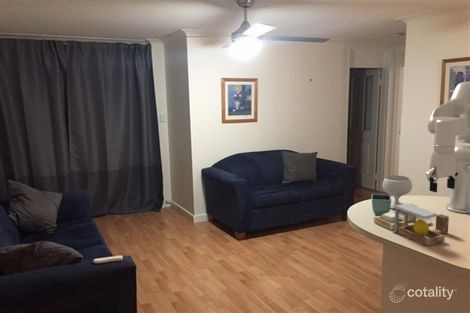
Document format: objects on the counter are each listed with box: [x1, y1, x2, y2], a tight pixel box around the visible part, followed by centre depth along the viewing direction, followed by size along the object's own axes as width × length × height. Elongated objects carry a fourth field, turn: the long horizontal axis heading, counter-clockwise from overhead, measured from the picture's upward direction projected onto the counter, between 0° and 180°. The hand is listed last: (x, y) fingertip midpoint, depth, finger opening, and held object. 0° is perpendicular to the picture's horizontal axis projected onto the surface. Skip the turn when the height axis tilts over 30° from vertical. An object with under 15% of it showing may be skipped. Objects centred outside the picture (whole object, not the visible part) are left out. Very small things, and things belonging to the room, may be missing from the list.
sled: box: [373, 203, 418, 231], centre depth 173 cm, size 18×11×7 cm, turn 112°
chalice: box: [382, 174, 413, 210], centre depth 195 cm, size 14×14×15 cm
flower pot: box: [371, 193, 392, 217], centre depth 185 cm, size 9×9×9 cm
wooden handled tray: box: [397, 213, 450, 247], centre depth 158 cm, size 18×15×7 cm
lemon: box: [413, 218, 430, 237], centre depth 157 cm, size 6×6×8 cm
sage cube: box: [382, 211, 395, 224], centre depth 172 cm, size 5×5×5 cm
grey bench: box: [392, 203, 438, 235], centre depth 159 cm, size 22×15×12 cm
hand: (442, 189), depth 158 cm, fingers open, 9 cm apart
